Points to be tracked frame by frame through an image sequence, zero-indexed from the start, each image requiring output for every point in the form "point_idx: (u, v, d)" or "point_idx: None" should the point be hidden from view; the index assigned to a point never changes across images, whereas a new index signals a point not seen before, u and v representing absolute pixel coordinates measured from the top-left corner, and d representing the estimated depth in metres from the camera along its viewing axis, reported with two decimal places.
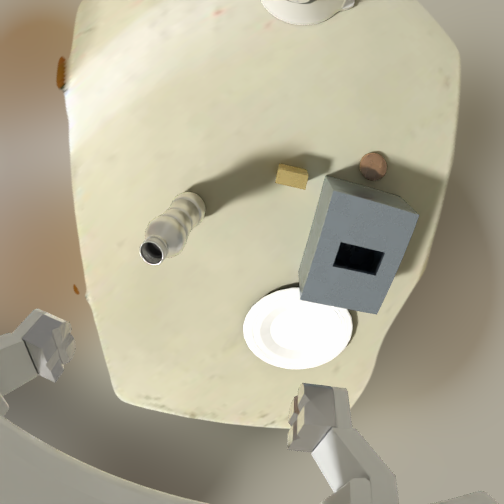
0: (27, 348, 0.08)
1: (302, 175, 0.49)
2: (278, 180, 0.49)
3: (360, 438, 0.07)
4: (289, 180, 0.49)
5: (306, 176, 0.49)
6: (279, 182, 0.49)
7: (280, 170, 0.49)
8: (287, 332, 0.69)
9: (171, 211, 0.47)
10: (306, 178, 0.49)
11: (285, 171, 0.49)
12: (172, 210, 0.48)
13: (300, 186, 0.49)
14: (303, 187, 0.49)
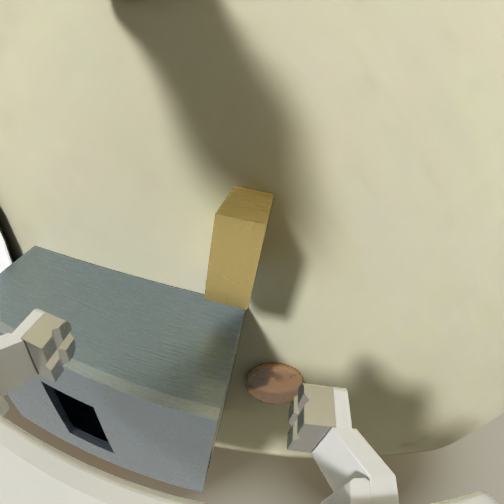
0: (27, 348, 0.08)
1: (247, 294, 0.16)
2: (224, 224, 0.14)
3: (360, 438, 0.07)
4: (229, 258, 0.15)
5: (245, 304, 0.16)
6: (218, 227, 0.14)
7: (261, 231, 0.14)
8: None
9: None
10: (239, 304, 0.16)
11: (258, 247, 0.15)
12: None
13: (212, 288, 0.16)
14: (210, 295, 0.16)
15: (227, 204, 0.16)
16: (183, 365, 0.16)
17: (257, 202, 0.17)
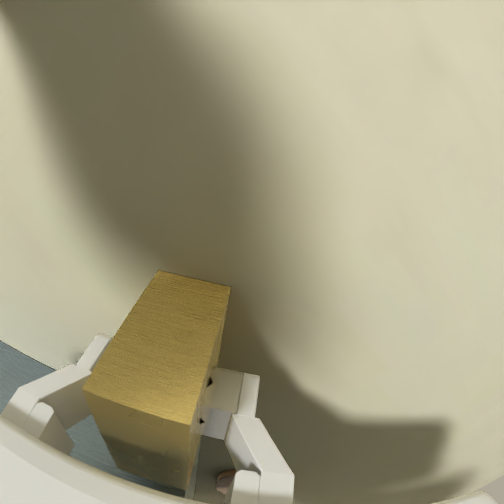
0: None
1: (181, 480, 0.07)
2: (106, 407, 0.05)
3: (261, 429, 0.07)
4: (135, 447, 0.06)
5: (181, 486, 0.07)
6: (96, 408, 0.06)
7: (181, 431, 0.05)
8: None
9: None
10: (171, 484, 0.07)
11: (182, 446, 0.06)
12: None
13: (123, 463, 0.07)
14: (124, 468, 0.07)
15: (119, 345, 0.07)
16: None
17: (188, 327, 0.08)
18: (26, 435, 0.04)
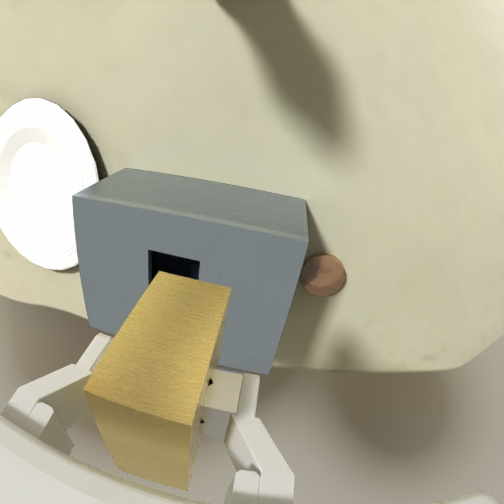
0: None
1: (182, 481, 0.07)
2: (106, 408, 0.05)
3: (261, 429, 0.07)
4: (136, 447, 0.06)
5: (182, 486, 0.07)
6: (97, 408, 0.06)
7: (182, 432, 0.05)
8: (30, 170, 0.33)
9: None
10: (172, 485, 0.07)
11: (183, 447, 0.06)
12: None
13: (124, 464, 0.07)
14: (125, 469, 0.07)
15: (119, 346, 0.07)
16: (276, 219, 0.25)
17: (189, 328, 0.08)
18: (26, 435, 0.04)
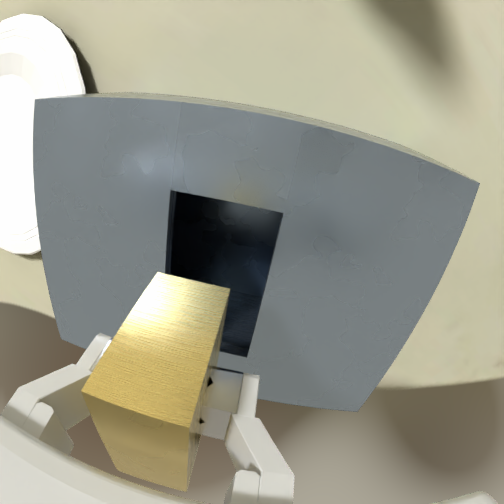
0: None
1: (181, 482, 0.07)
2: (105, 409, 0.05)
3: (261, 429, 0.07)
4: (134, 448, 0.06)
5: (181, 488, 0.07)
6: (95, 410, 0.06)
7: (180, 433, 0.05)
8: None
9: None
10: (171, 486, 0.07)
11: (181, 448, 0.06)
12: None
13: (122, 465, 0.07)
14: (124, 470, 0.07)
15: (118, 348, 0.07)
16: (405, 149, 0.13)
17: (187, 329, 0.08)
18: (26, 435, 0.04)
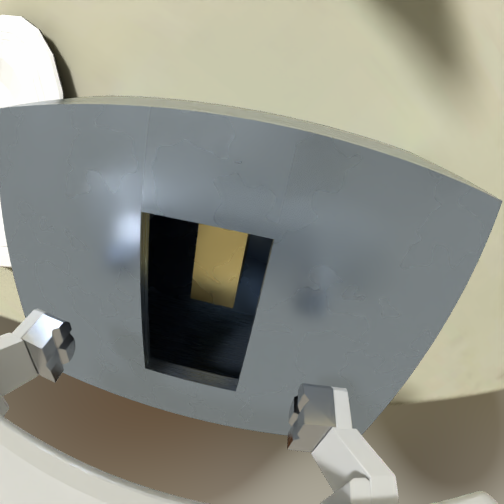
0: (27, 348, 0.08)
1: (232, 293, 0.16)
2: None
3: (360, 438, 0.07)
4: (214, 257, 0.15)
5: (230, 303, 0.17)
6: (202, 227, 0.15)
7: None
8: None
9: None
10: (224, 302, 0.17)
11: (242, 246, 0.15)
12: None
13: (197, 286, 0.16)
14: (196, 294, 0.17)
15: None
16: (417, 159, 0.11)
17: None
18: (26, 435, 0.04)
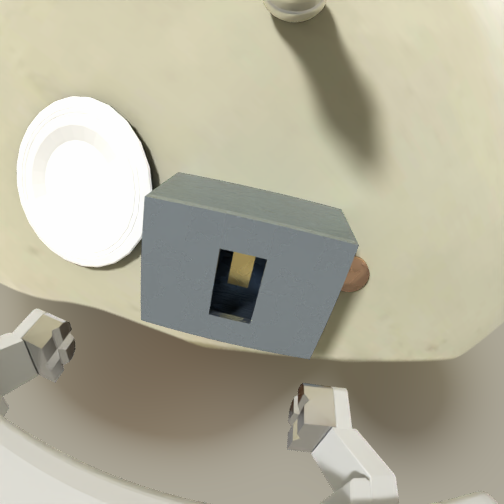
0: (27, 348, 0.08)
1: (248, 280, 0.35)
2: None
3: (360, 438, 0.07)
4: (240, 264, 0.34)
5: (246, 285, 0.35)
6: None
7: None
8: (70, 168, 0.36)
9: None
10: (243, 285, 0.35)
11: (253, 259, 0.34)
12: None
13: (231, 277, 0.35)
14: (230, 281, 0.35)
15: None
16: (328, 225, 0.30)
17: None
18: (26, 435, 0.04)
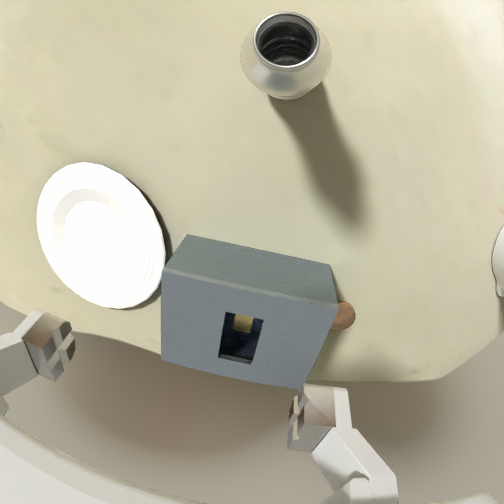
0: (27, 348, 0.08)
1: (249, 327, 0.41)
2: None
3: (360, 438, 0.07)
4: (243, 315, 0.40)
5: (248, 331, 0.42)
6: None
7: None
8: (89, 224, 0.43)
9: None
10: (246, 331, 0.42)
11: None
12: None
13: (236, 325, 0.41)
14: (235, 328, 0.41)
15: None
16: (315, 289, 0.36)
17: None
18: (26, 435, 0.04)
